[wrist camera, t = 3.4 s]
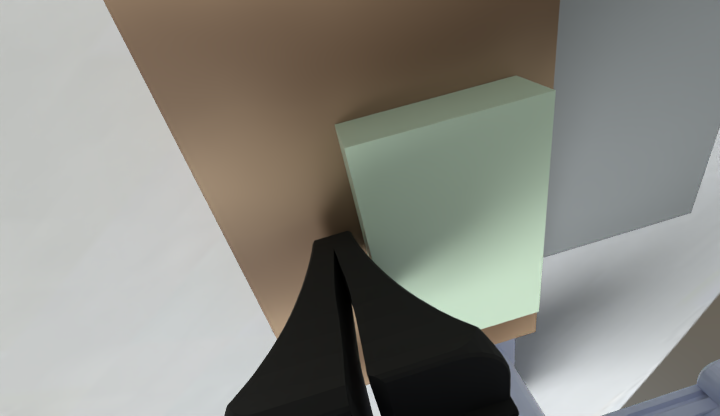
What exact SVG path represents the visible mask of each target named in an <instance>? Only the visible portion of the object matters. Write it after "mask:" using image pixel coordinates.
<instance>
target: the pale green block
mask: <svg viewBox="0 0 720 416" xmlns="http://www.w3.org/2000/svg"><path fill="white" fill-rule="evenodd" d="M555 94H556V90H554V89H551V88H549V87H546V86H543V85H541V84H538V83H535V82H533V81H530V80H527V79H525V78H522V77H519V76H517V75H516V76H512V77H508V78H504V79H501V80H497V81H493V82H490V83H486V84H482V85H479V86H475V87H471V88H468V89H464V90H460V91H457V92H453V93H449V94H446V95H442V96H438V97H434V98H431V99H427V100H423V101H420V102H416V103H412V104H409V105H405V106H401V107H398V108H394V109H390V110H387V111H383V112H379V113H375V114H372V115H368V116H364V117H361V118H357V119H353V120H350V121H346V122H342V123H339V124H335V129H336V133H337V137H338V140H339V144H340V148H341V152H342V156H343V160H344V164H345V168H346V172H347V176H348V179H349V183H350V187H351V191H352V195H353V199H354V203H355V207H356V211H357V215H358V218H359V222H360V226H361V230H362V234H363V238H364V242H365V246H366V250H367V254H368V256H369V257H370V258H371V259H372V260H373V261H374V263H375V264H376V265H377V266H378V267H380V268H381V269H382V270H383V271H384V272H385V273H386V274H387V275H388V276H389V277H391V278H392V279H393V280H394V281H395V282H397V283H398V284H399V285H401V286H402V287H403V288H405V289H406V290H407V291H409V292H410V293H412V294H413V295H415V296H416V297H418V298H419V299H421V300H423V301H424V302H426V303H428V304H430V305H431V306H433V307H435V308H437V309H438V310H440V311H442V312H444V313H446V314H448V315H450V316H452V317H454V318H457V319H459V320H461V321H464V322H466V323H469V324H471V325H474V326H476V327H479V328H480V329H484V328H487V327H490V326H494V325H497V324H500V323H503V322H507V321H510V320H513V319H516V318H520V317H523V316H526V315H529V314H533V313H536V312H539V303H540V290H541V277H542V264H543V251H544V238H545V225H546V212H547V199H548V185H549V172H550V159H551V146H552V133H553V120H554V107H555Z"/></svg>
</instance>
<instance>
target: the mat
mask: <svg viewBox="0 0 720 416" xmlns="http://www.w3.org/2000/svg"><path fill="white" fill-rule="evenodd" d="M554 90H556V94H555V107H554V120H553V133H552V146H551V159H550V172H549V185H548V199H547V212H546V225H545V238H544V251H543V258H544V257H547V256H550V255H554V254H557V253H560V252H564V251H567V250H570V249H574V248H577V247H580V246H583V245H587V244H590V243H593V242H597V241H600V240H603V239H607V238H610V237H613V236H616V235H620V234H623V233H626V232H630V231H633V230H636V229H639V228H643V227H646V226H649V225H653V224H656V223H659V222H663V221H666V220H669V219H672V218H676V217H679V216H682V215H686V214H689V213H691V211H692V208H693V205H694V202H695V199H696V196H697V193H698V190H699V187H700V184H701V181H702V178H703V175H704V172H705V169H706V166H707V163H708V160H709V157H710V154H711V151H712V148H713V145H714V142H715V139H716V136H717V133H718V130H719V127H720V0H560V8H559V21H558V35H557V48H556V62H555V75H554Z"/></svg>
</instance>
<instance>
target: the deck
mask: <svg viewBox="0 0 720 416" xmlns="http://www.w3.org/2000/svg"><path fill="white" fill-rule="evenodd" d="M104 2H105V4H106V6H107V8H108V10H109V12H110V14H111V16H112V18H113V20H114V22H115V24H116V26H117V28H118V30H119V32H120V34H121V36H122V38H123V39H124V41H125V43H126V45H127V47H128V49H129V51H130V53H131V55H132V57H133V59H134V61H135V63H136V65H137V67H138V69H139V71H140V73H141V75H142V77H143V78H144V80H145V82H146V84H147V86H148V88H149V90H150V92H151V94H152V96H153V98H154V100H155V102H156V104H157V106H158V108H159V110H160V112H161V114H162V116H163V117H164V119H165V121H166V123H167V125H168V127H169V129H170V131H171V133H172V135H173V137H174V139H175V141H176V143H177V145H178V147H179V149H180V151H181V153H182V155H183V157H184V158H185V160H186V162H187V164H188V166H189V168H190V170H191V172H192V174H193V176H194V178H195V180H196V182H197V184H198V186H199V188H200V190H201V192H202V194H203V196H204V197H205V199H206V201H207V203H208V205H209V207H210V209H211V211H212V213H213V215H214V217H215V219H216V221H217V223H218V225H219V227H220V229H221V231H222V233H223V235H224V236H225V238H226V240H227V242H228V244H229V246H230V248H231V250H232V252H233V254H234V256H235V258H236V260H237V262H238V264H239V266H240V268H241V270H242V272H243V274H244V276H245V277H246V279H247V281H248V283H249V285H250V287H251V289H252V291H253V293H254V295H255V297H256V299H257V301H258V303H259V305H260V307H261V309H262V311H263V313H264V315H265V316H266V318H267V320H268V322H269V324H270V326H271V328H272V330H273V332H274V334H275V336H276V338H277V339H278V337H279V335H280V333H281V332H282V330H283V328H284V326H285V324H286V322H287V320H288V318H289V316H290V314H291V312H292V310H293V308H294V305H295V303H296V301H297V298H298V295H299V293H300V290H301V288H302V285H303V282H304V279H305V275H306V272H307V269H308V265H309V261H310V257H311V252H312V245H313V242H314V241H315V240H318V239H321V238H324V237H328V236H331V235H335V234H338V233H341V232H345V231H350V232H352V235H353V236H354V238H355V240H356V241H357V243H358V244H359V245H360V247H361V248H362V249H363V250H364V252H365V253H366V254H367V250H366V246H365V242H364V238H363V234H362V230H361V226H360V222H359V218H358V215H357V211H356V207H355V203H354V199H353V195H352V191H351V187H350V183H349V179H348V176H347V172H346V168H345V164H344V160H343V156H342V152H341V148H340V144H339V140H338V137H337V133H336V129H335V124H339V123H342V122H346V121H350V120H353V119H357V118H361V117H364V116H368V115H372V114H375V113H379V112H383V111H387V110H390V109H394V108H398V107H401V106H405V105H409V104H412V103H416V102H420V101H423V100H427V99H431V98H434V97H438V96H442V95H446V94H449V93H453V92H457V91H460V90H464V89H468V88H471V87H475V86H479V85H482V84H486V83H490V82H493V81H497V80H501V79H504V78H508V77H512V76H516V75H517V76H519V77H522V78H525V79H527V80H530V81H533V82H535V83H538V84H541V85H543V86H546V87H549V88H551V89H554V75H555V62H556V48H557V35H558V21H559V8H560V0H104ZM367 255H368V254H367ZM352 309H353V306H352ZM353 316H354V323H355V330H356V337H357V344H358V351H359V358H360V363H361V368H362V373H363V377H364V381H365V385H368V384H370V382H369V379H368V376H367V372H366V366H365V361H364V356H363V351H362V345H361V341H360V336H359V331H358V326H357V321H356V317H355V312H354V309H353ZM536 317H537V312H536V313H533V314H529V315H526V316H523V317H520V318H516V319H513V320H510V321H507V322H503V323H500V324H497V325H494V326H490V327H487V328H484V329H481V330H482V331H483V333H484V334H485V335H486V336H487V337H488V338H489V339H490V340H491V341H492V342H493V344H494V345H495V344H498V343H501V342H505V341H508V340H511V339H514V338H517V337H520V336H524V335H527V334H530V333H533V332H535V331H536Z"/></svg>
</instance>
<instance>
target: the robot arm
mask: <svg viewBox="0 0 720 416" xmlns="http://www.w3.org/2000/svg"><path fill="white" fill-rule="evenodd" d="M352 306H353V309H354V312H355V317H356V321H357V326H358V331H359V336H360V341H361V345H362V351H363V356H364V361H365V366H366V372H367V376H368V379H369V382H370V385H371V388H372V391H373V394H374V396H375V399H376V402H377V405H378V408H379V411H380V414H381V416H545V415H544V413H543V412H542V410H541V408H540V407H539V405H538V404H537V402H536V400H535V399H534V397H533V396H532V394H531V392H530V391H529V389H528V388H527V386H526V384H525V383H524V381H523V380H522V378H521V376H520V375H519V373H518V372H517V370H516V369H515V367H514V364H515V338H514V339H511V340H508V341H505V342H501V343H498V344H495V345H494V344H493V342H492V341H491V340H490V339H489V338H488V337H487V336H486V335H485V334H484V333H483V331H482V330H481V329H480V328H479V327H476V326H474V325H471V324H469V323H466V322H464V321H461V320H459V319H457V318H454V317H452V316H450V315H448V314H446V313H444V312H442V311H440V310H438V309H437V308H435V307H433V306H431V305H430V304H428V303H426V302H424V301H423V300H421V299H419V298H418V297H416V296H415V295H413V294H412V293H410V292H409V291H407V290H406V289H405V288H403V287H402V286H401V285H399V284H398V283H397V282H395V281H394V280H393V279H392V278H391V277H389V276H388V275H387V274H386V273H385V272H384V271H383V270H382V269H381V268H380V267H378V266H377V265H376V264H375V263H374V261H373V260H372V259H371V258H370V257H369V256H368V255H367V254H366V253H365V252H364V250H363V249H362V248H361V247H360V245H359V244H358V243H357V241H356V240H355V238H354V236H353V235H352V232H350V231H345V232H341V233H338V234H335V235H331V236H328V237H324V238H321V239H318V240H315V241H314V242H313V245H312V252H311V257H310V261H309V265H308V269H307V272H306V275H305V279H304V282H303V285H302V288H301V290H300V293H299V295H298V298H297V301H296V303H295V305H294V308H293V310H292V312H291V314H290V316H289V318H288V320H287V322H286V324H285V326H284V328H283V330H282V332H281V333H280V335H279V337H278V339H277V340H276V342H275V344H274V345H273V347H272V349H271V350H270V352H269V353H268V355H267V356H266V358H265V359H264V360H263V362H262V363H261V365H260V366H259V368H258V369H257V370H256V372H255V373H254V375H253V376H252V377H251V378H250V380H249V381H248V382H247V383H246V384H245V386H244V387H243V388H242V389H241V390H240V392H239V393H238V394H237V395H236V396H235V397H234V399H233V400H232V401H231V402H230V403H229V404H228V405H227V408H226V412H225V416H373V414H372V410H371V406H370V402H369V398H368V393H367V389H366V385H365V381H364V377H363V373H362V368H361V363H360V358H359V351H358V344H357V337H356V330H355V323H354V316H353V309H352ZM602 416H720V359H719V360H716V361H714V362H712V363H709V364H708V365H707V366H706V367H704V368H703V369H702V371H701V372H700V374H699V376H698V379H697V384H695V385H692V386H689V387H686V388H683V389H681V390H678V391H674V392H671V393H668V394H665V395H662V396H659V397H656V398H653V399H650V400H647V401H645V402H641V403H638V404H635V405H632V406H629V407H626V408H623V409H620V410H617V411H614V412H611V413H608V414H605V415H602Z"/></svg>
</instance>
